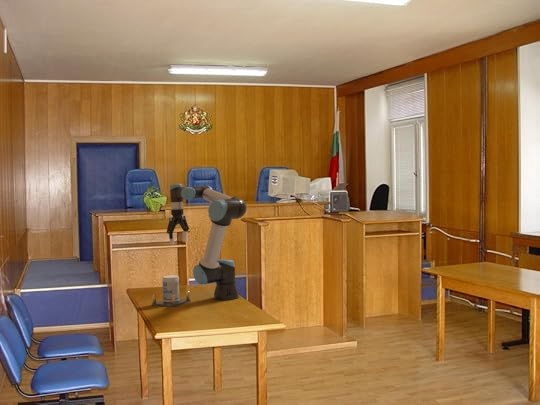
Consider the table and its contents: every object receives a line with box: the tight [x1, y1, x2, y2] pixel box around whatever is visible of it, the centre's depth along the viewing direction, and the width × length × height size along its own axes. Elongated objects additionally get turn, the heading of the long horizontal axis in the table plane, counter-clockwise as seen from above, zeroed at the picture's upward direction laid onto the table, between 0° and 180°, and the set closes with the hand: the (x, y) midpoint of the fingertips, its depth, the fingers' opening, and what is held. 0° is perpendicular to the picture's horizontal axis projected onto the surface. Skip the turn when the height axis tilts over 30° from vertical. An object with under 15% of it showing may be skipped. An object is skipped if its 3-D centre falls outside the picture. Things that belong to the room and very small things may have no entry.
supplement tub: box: [162, 274, 180, 303], centre depth 358 cm, size 10×10×15 cm
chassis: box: [151, 290, 191, 308], centre depth 358 cm, size 16×16×6 cm
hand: (178, 243), depth 380 cm, fingers open, 13 cm apart
